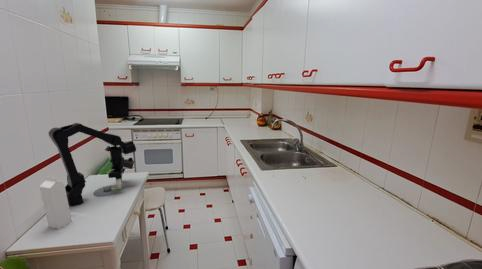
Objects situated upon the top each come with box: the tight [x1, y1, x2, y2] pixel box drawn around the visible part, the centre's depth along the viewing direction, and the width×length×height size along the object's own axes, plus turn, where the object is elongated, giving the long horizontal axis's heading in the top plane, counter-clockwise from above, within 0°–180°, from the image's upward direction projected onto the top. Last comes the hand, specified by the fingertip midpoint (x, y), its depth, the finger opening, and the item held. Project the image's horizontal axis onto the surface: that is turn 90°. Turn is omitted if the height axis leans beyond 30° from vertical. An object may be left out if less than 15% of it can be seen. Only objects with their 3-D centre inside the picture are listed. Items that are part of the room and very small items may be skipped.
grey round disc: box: [92, 184, 123, 198], centre depth 134 cm, size 14×14×1 cm
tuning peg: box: [103, 178, 123, 192], centre depth 133 cm, size 9×4×6 cm, turn 105°
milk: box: [39, 176, 72, 230], centre depth 102 cm, size 6×6×22 cm
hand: (120, 182), depth 137 cm, fingers closed
